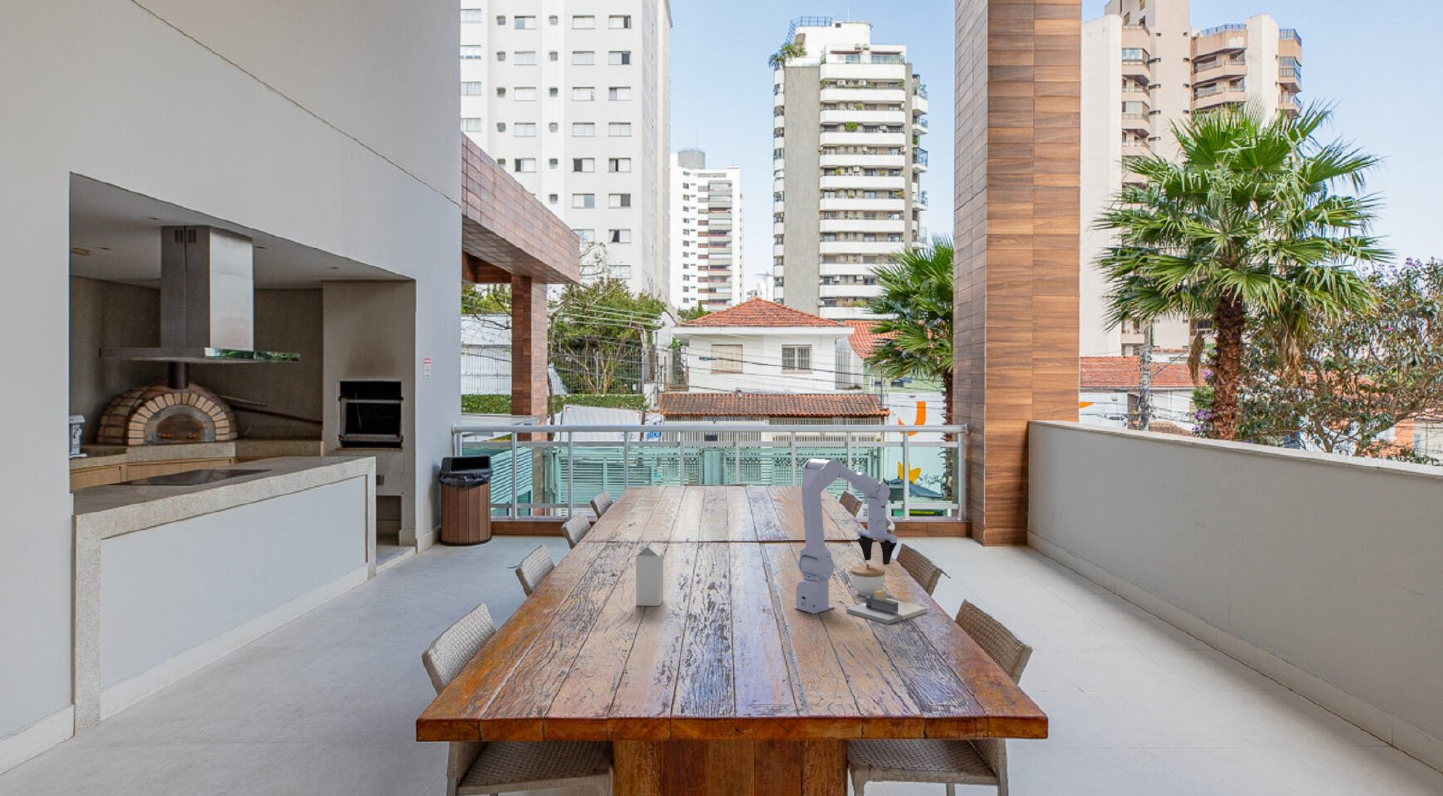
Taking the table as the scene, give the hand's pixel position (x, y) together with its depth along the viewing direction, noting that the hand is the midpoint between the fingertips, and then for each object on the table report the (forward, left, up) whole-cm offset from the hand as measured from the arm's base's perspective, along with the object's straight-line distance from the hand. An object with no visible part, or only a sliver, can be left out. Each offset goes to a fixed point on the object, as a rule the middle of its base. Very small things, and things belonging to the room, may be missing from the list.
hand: (876, 562), depth 242 cm
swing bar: (-17, -15, -8) cm, 24 cm away
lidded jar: (-2, +2, -10) cm, 11 cm away
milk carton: (-60, +39, -10) cm, 72 cm away
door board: (-14, -15, -10) cm, 23 cm away
